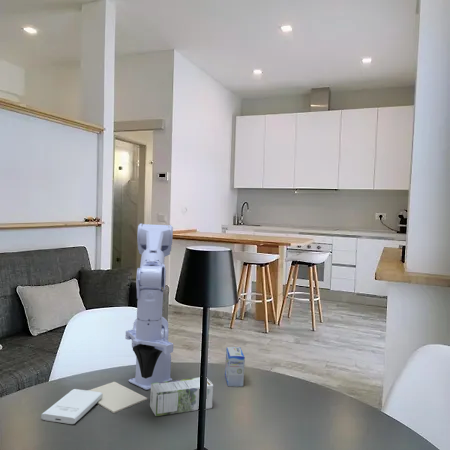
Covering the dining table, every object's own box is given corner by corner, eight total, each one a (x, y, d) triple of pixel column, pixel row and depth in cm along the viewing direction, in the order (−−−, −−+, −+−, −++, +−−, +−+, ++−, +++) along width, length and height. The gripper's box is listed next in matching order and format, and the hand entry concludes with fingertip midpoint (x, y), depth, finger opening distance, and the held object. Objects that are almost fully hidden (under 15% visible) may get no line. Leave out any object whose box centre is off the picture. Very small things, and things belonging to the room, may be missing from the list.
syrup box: (149, 406, 99) (204, 397, 105) (155, 417, 94) (213, 407, 100) (150, 382, 99) (205, 375, 105) (156, 392, 94) (214, 384, 100)
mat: (114, 383, 112) (114, 381, 112) (147, 399, 103) (147, 398, 103) (81, 394, 104) (81, 392, 104) (113, 413, 95) (113, 411, 95)
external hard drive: (102, 398, 101) (74, 424, 89) (72, 394, 103) (41, 419, 90) (102, 392, 101) (74, 417, 89) (72, 388, 103) (41, 412, 90)
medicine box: (224, 375, 121) (226, 346, 120) (239, 375, 121) (240, 346, 121) (227, 387, 113) (229, 355, 113) (243, 387, 113) (245, 356, 113)
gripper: (115, 314, 95) (113, 372, 95) (157, 327, 86) (154, 391, 86) (139, 310, 100) (137, 364, 101) (181, 322, 91) (178, 382, 92)
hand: (146, 376), depth 94 cm, fingers closed
